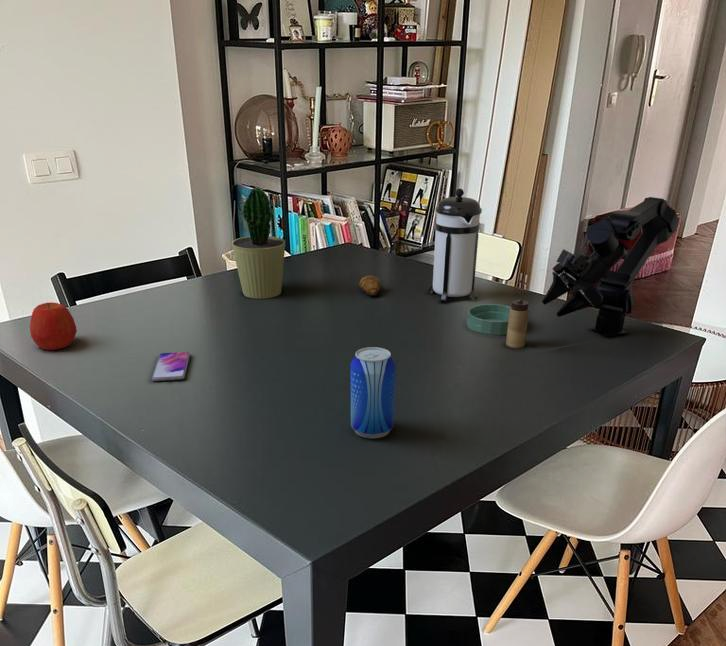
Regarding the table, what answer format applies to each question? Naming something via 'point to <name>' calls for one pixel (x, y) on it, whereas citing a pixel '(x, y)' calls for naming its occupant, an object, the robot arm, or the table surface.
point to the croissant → (370, 285)
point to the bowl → (489, 319)
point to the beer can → (372, 392)
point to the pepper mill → (517, 324)
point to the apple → (52, 326)
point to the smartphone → (171, 366)
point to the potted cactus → (259, 250)
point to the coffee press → (456, 246)
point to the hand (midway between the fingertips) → (550, 309)
